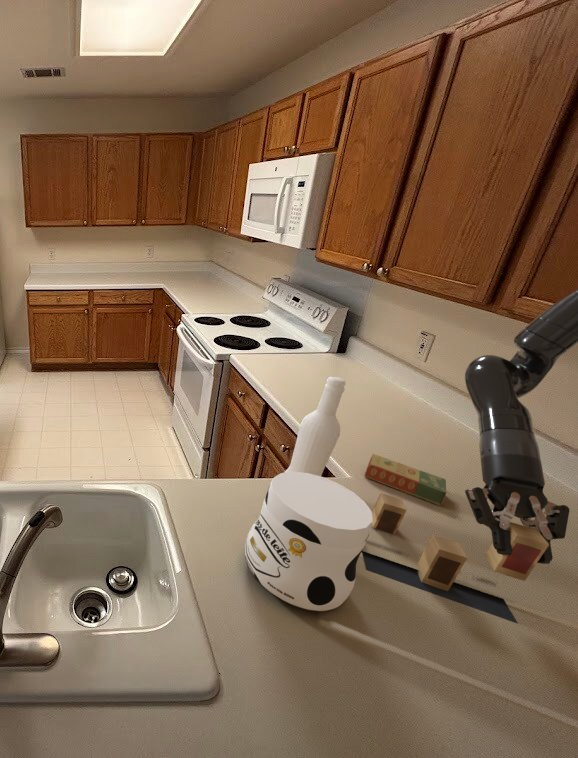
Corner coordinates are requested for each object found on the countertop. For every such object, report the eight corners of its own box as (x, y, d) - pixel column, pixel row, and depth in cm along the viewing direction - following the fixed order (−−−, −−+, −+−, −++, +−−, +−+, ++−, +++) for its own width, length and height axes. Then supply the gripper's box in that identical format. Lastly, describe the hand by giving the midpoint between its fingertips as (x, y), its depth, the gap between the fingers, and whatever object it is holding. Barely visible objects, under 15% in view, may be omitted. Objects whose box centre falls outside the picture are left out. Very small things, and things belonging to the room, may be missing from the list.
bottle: (319, 491, 101) (362, 379, 90) (311, 506, 95) (356, 388, 84) (285, 477, 106) (321, 369, 95) (275, 490, 100) (313, 376, 89)
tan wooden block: (388, 528, 90) (402, 499, 87) (392, 540, 87) (407, 510, 84) (367, 522, 92) (380, 492, 89) (370, 533, 88) (384, 503, 85)
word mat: (495, 591, 76) (497, 588, 76) (516, 626, 69) (518, 623, 69) (358, 545, 84) (359, 542, 84) (364, 572, 78) (366, 569, 77)
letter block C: (513, 564, 72) (536, 529, 69) (525, 582, 68) (550, 545, 65) (484, 555, 73) (505, 520, 70) (494, 572, 70) (517, 535, 67)
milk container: (222, 569, 76) (245, 489, 69) (266, 530, 86) (290, 457, 80) (322, 642, 64) (362, 553, 57) (358, 586, 74) (395, 506, 68)
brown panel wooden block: (441, 575, 77) (459, 543, 74) (448, 592, 74) (467, 558, 71) (415, 567, 79) (432, 535, 76) (421, 582, 76) (439, 549, 73)
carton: (367, 465, 115) (373, 452, 113) (440, 492, 105) (447, 478, 104) (363, 477, 109) (369, 463, 107) (440, 506, 99) (448, 492, 98)
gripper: (478, 444, 72) (490, 546, 66) (578, 463, 69) (600, 571, 63) (449, 455, 79) (456, 547, 73) (539, 472, 76) (555, 571, 69)
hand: (523, 558), depth 68 cm, fingers closed on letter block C, 4 cm apart
